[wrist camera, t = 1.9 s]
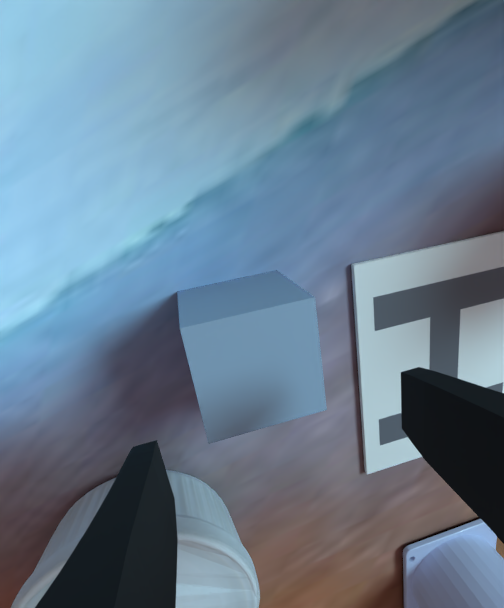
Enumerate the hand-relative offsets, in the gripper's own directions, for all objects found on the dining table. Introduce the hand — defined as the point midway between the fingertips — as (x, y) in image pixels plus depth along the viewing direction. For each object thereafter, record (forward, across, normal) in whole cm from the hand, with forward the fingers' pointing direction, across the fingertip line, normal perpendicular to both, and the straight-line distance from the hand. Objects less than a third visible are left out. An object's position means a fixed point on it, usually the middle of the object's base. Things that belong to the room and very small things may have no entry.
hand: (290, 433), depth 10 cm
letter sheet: (+8, -12, +5) cm, 16 cm away
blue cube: (+9, 0, 0) cm, 9 cm away
